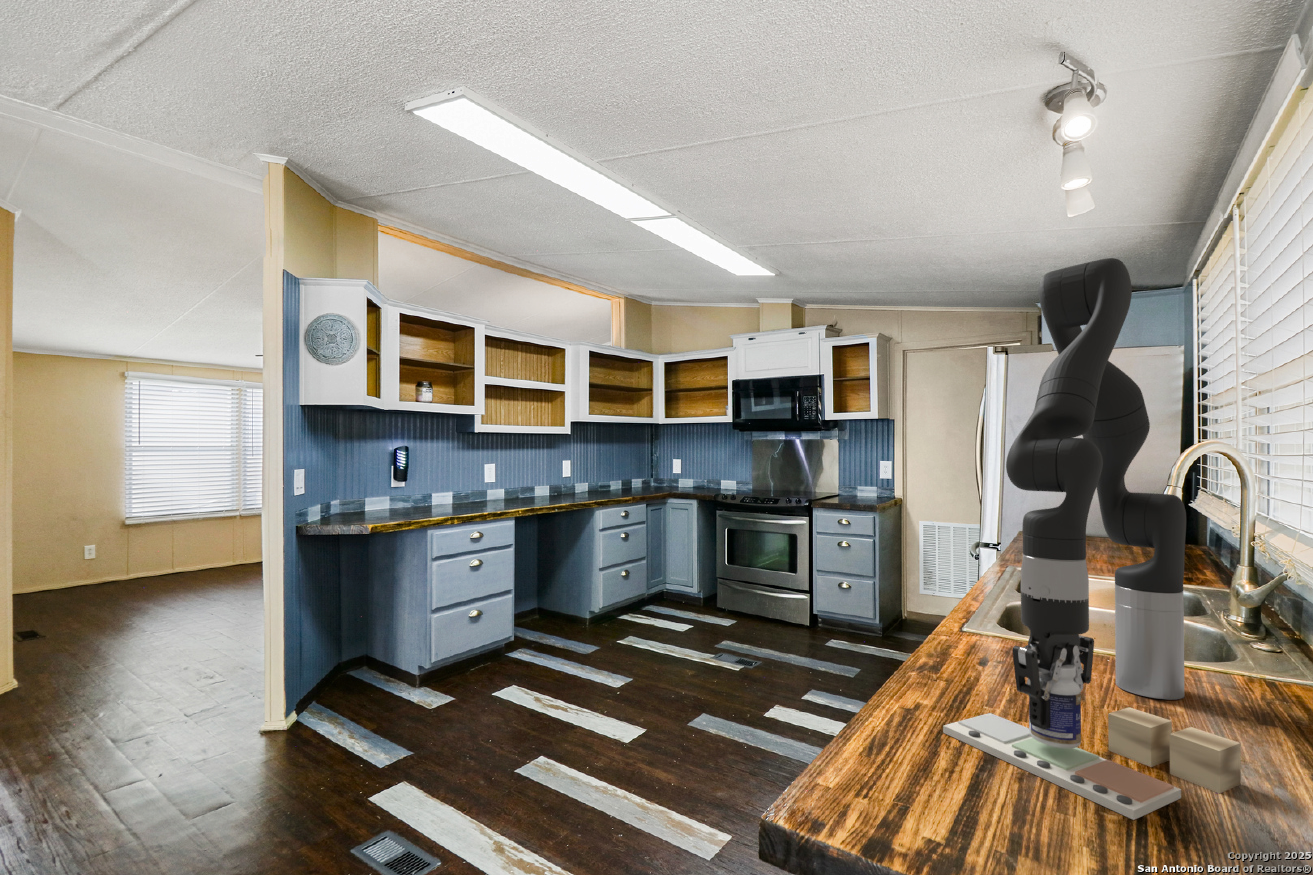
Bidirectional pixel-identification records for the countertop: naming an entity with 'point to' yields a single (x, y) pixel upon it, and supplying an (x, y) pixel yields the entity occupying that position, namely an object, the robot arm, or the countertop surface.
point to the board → (1066, 766)
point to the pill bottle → (1062, 712)
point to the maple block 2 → (1205, 759)
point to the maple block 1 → (1139, 736)
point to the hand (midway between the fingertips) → (1054, 721)
